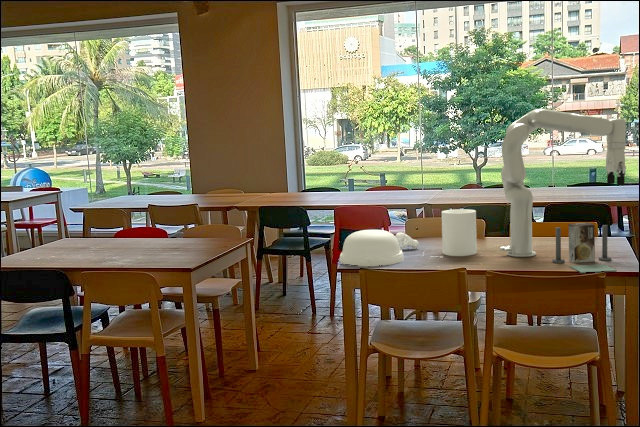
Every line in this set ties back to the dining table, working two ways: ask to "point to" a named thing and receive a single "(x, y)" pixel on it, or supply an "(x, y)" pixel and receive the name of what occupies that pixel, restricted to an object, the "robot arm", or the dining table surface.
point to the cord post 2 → (604, 245)
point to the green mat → (592, 268)
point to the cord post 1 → (558, 247)
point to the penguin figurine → (406, 241)
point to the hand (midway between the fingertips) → (615, 184)
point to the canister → (459, 232)
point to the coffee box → (581, 242)
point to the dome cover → (371, 249)
